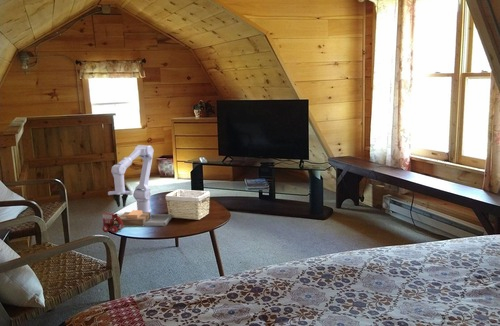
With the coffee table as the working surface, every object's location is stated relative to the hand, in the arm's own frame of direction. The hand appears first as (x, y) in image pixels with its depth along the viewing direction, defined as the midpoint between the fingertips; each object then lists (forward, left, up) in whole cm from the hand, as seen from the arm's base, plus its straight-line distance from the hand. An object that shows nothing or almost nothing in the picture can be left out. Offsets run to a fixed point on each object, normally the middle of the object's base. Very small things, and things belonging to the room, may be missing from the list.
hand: (121, 206), depth 261 cm
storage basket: (-13, +38, -10) cm, 41 cm away
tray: (0, +22, -10) cm, 24 cm away
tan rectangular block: (0, +8, -6) cm, 10 cm away
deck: (0, +7, -10) cm, 12 cm away
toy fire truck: (+15, 0, -10) cm, 18 cm away
